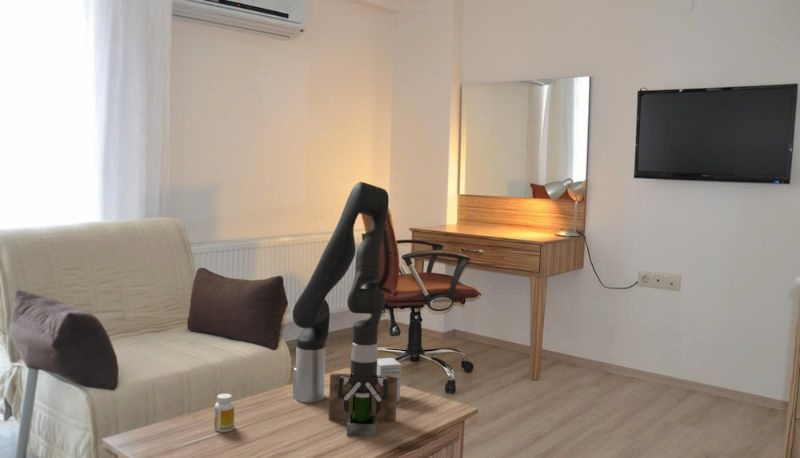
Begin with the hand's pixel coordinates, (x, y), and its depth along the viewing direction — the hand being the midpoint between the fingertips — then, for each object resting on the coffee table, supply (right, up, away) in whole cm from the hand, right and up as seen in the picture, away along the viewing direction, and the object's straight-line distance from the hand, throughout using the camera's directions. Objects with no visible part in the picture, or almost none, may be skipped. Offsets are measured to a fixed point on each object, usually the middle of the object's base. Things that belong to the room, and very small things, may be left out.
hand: (362, 412), depth 198 cm
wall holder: (0, -5, +3) cm, 6 cm away
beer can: (0, -6, +1) cm, 6 cm away
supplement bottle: (-39, -4, -2) cm, 40 cm away
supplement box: (+6, -3, +28) cm, 28 cm away
